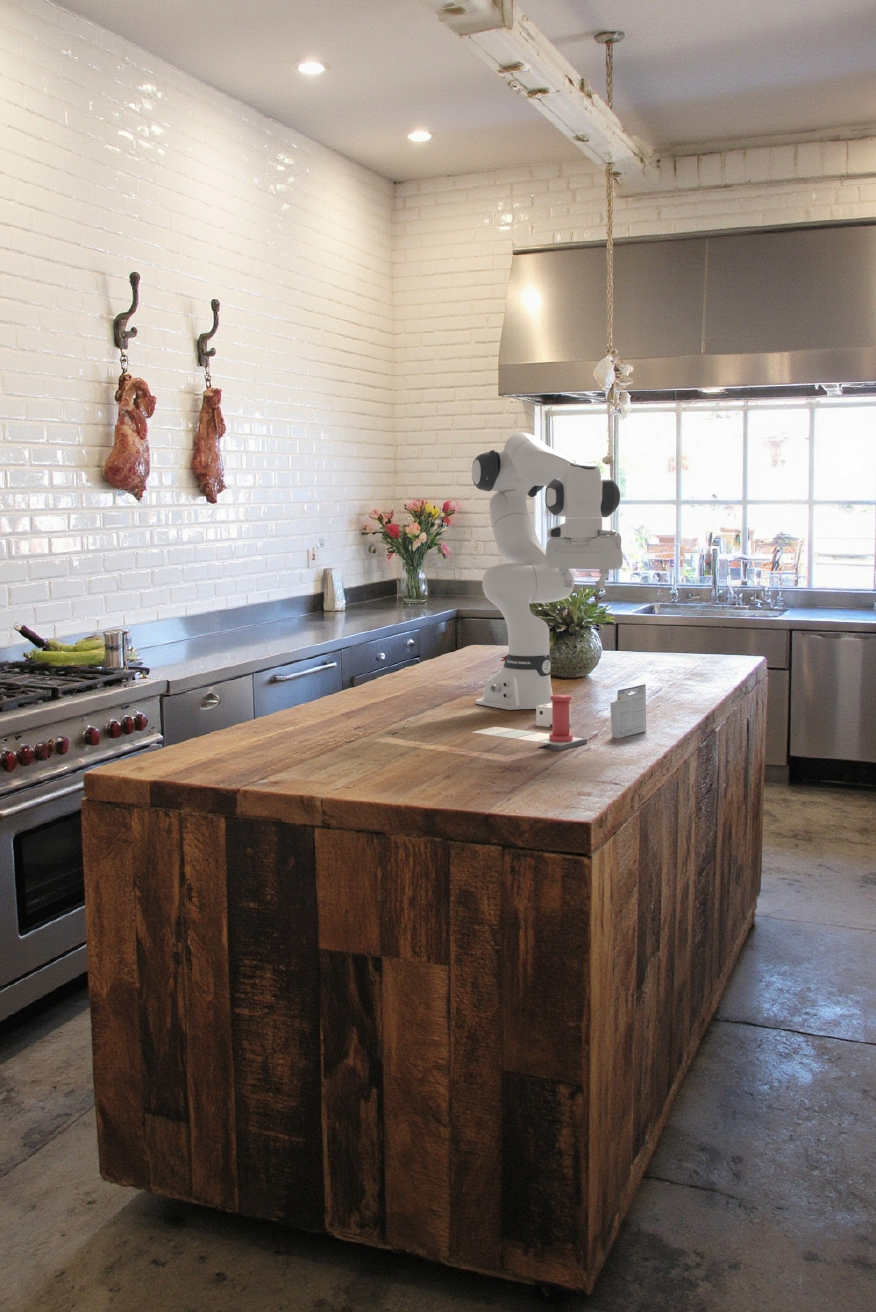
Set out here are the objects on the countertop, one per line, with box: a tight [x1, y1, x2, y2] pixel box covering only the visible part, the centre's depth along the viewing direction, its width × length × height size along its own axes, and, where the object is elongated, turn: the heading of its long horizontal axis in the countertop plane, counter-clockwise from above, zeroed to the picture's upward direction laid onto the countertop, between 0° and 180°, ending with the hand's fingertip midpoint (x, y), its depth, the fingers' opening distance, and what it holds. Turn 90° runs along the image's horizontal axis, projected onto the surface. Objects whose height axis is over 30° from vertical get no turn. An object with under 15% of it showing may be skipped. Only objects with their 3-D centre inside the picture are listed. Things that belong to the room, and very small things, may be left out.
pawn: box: [549, 694, 574, 742], centre depth 261 cm, size 5×5×10 cm
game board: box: [471, 726, 588, 752], centre depth 268 cm, size 26×11×1 cm, turn 49°
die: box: [535, 703, 572, 728], centre depth 281 cm, size 6×6×6 cm
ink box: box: [610, 684, 647, 740], centre depth 272 cm, size 12×2×12 cm, turn 135°
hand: (583, 587), depth 280 cm, fingers open, 8 cm apart
